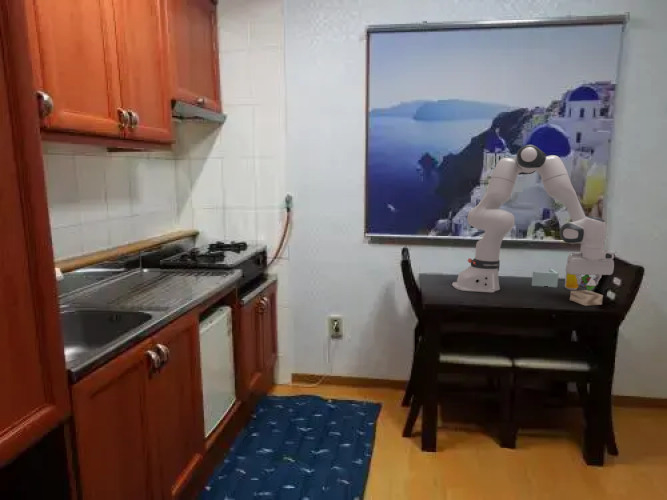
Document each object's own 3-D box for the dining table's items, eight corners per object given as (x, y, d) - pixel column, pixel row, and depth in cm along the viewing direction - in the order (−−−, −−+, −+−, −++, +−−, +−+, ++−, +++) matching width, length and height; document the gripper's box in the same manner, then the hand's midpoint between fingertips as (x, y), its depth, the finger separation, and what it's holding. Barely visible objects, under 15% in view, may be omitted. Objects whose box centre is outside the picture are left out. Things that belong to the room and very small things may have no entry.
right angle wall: (549, 282, 252) (551, 268, 251) (557, 288, 240) (558, 273, 239) (525, 281, 254) (527, 267, 252) (532, 286, 242) (533, 272, 240)
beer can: (579, 290, 234) (583, 260, 232) (566, 289, 236) (569, 259, 233) (575, 287, 240) (579, 258, 238) (562, 286, 241) (566, 257, 239)
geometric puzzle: (573, 285, 216) (579, 274, 210) (583, 278, 218) (590, 268, 212) (585, 296, 212) (592, 286, 206) (596, 289, 214) (603, 279, 208)
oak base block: (584, 306, 208) (585, 296, 208) (569, 300, 217) (570, 290, 216) (601, 305, 211) (602, 295, 210) (586, 299, 219) (587, 290, 219)
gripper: (572, 254, 206) (568, 285, 209) (617, 255, 208) (613, 286, 210) (564, 251, 213) (561, 282, 215) (608, 252, 214) (604, 282, 217)
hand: (587, 284), depth 213 cm, fingers closed on geometric puzzle, 6 cm apart
